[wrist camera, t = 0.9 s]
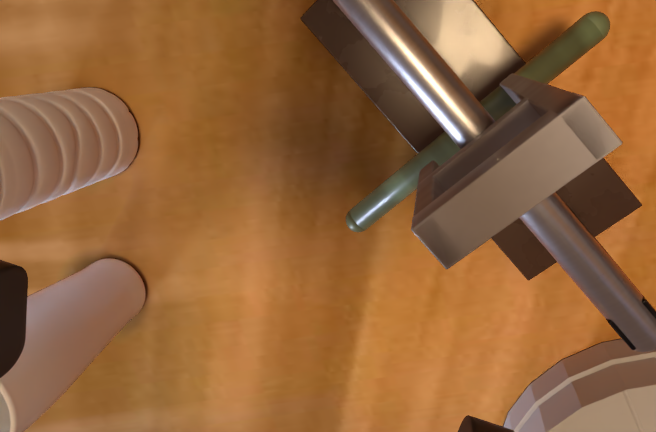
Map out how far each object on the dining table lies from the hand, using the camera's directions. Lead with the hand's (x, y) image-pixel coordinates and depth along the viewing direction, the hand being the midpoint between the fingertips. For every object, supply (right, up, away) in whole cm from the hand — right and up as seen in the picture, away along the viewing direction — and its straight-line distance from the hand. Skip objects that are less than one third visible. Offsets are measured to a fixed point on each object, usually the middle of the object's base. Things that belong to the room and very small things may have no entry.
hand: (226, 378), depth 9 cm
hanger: (+9, +7, +17) cm, 21 cm away
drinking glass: (-15, -3, +33) cm, 37 cm away
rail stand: (+11, +10, +24) cm, 28 cm away
